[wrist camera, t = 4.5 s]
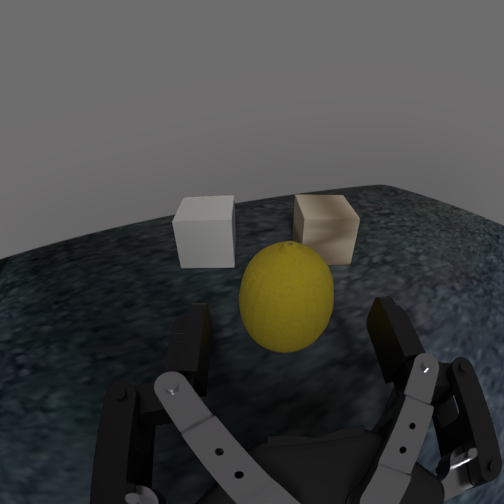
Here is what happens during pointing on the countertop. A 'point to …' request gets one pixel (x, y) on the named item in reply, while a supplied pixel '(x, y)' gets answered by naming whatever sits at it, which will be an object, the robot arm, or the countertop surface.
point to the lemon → (286, 297)
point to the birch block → (326, 226)
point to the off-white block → (206, 232)
